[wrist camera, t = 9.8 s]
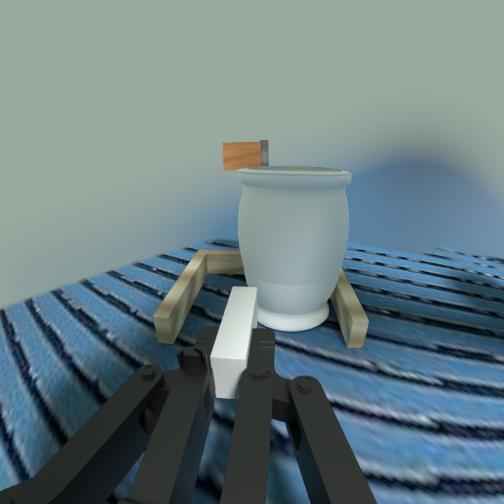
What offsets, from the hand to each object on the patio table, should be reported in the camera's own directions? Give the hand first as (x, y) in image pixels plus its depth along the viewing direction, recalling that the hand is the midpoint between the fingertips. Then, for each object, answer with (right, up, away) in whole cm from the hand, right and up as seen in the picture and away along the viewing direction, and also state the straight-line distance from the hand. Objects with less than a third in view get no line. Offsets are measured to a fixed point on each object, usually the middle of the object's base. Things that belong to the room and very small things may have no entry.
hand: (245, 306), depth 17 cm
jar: (+5, -3, +12) cm, 14 cm away
